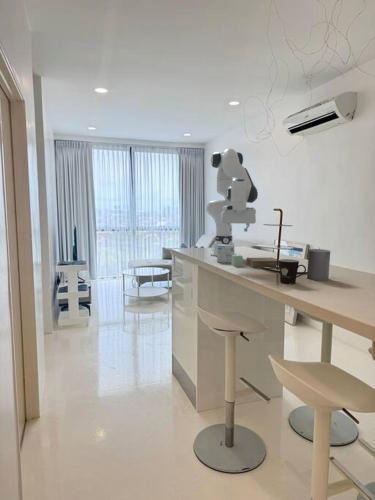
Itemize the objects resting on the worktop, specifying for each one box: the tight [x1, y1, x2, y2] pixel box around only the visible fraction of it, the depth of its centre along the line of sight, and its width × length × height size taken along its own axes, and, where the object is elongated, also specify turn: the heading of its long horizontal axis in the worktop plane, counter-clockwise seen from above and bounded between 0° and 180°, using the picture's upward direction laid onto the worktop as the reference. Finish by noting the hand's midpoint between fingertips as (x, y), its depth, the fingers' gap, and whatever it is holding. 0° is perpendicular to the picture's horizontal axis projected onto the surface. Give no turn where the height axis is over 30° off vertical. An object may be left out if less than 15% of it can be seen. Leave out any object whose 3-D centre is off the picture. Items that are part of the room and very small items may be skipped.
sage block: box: [231, 254, 243, 267], centre depth 198 cm, size 5×5×6 cm
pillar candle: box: [306, 247, 331, 282], centre depth 161 cm, size 10×10×15 cm
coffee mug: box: [278, 258, 307, 285], centre depth 150 cm, size 12×9×10 cm
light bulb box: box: [216, 244, 235, 264], centre depth 212 cm, size 11×7×11 cm, turn 84°
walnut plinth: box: [245, 257, 279, 269], centre depth 197 cm, size 14×16×4 cm
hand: (237, 231), depth 196 cm, fingers open, 8 cm apart
